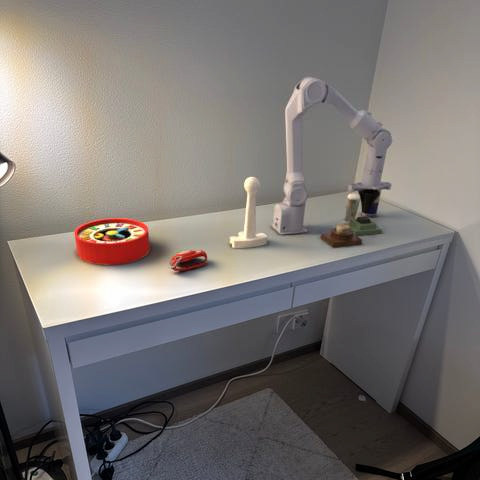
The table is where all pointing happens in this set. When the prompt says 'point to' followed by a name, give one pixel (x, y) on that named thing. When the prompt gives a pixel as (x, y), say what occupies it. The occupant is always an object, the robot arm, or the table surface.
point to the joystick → (250, 219)
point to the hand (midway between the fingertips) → (365, 212)
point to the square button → (363, 220)
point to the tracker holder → (187, 259)
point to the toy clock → (112, 241)
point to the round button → (342, 228)
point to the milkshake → (352, 206)
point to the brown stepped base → (341, 238)
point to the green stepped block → (363, 228)
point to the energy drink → (373, 208)
